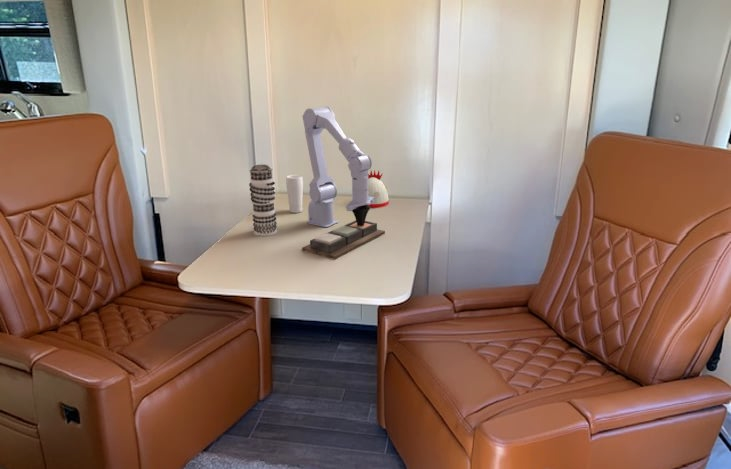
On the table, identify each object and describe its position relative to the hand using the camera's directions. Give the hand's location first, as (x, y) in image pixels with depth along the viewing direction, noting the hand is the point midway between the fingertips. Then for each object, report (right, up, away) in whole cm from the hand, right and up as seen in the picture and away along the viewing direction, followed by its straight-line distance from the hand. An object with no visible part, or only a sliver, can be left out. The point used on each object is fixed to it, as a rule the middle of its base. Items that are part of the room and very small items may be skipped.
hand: (360, 225), depth 190 cm
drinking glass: (-27, +6, +29) cm, 40 cm away
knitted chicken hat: (+5, +10, +40) cm, 41 cm away
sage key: (-5, -4, -7) cm, 10 cm away
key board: (-5, -6, -6) cm, 10 cm away
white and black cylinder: (-35, -3, +4) cm, 36 cm away
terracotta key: (0, -2, +1) cm, 2 cm away
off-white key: (-11, -6, -14) cm, 19 cm away
